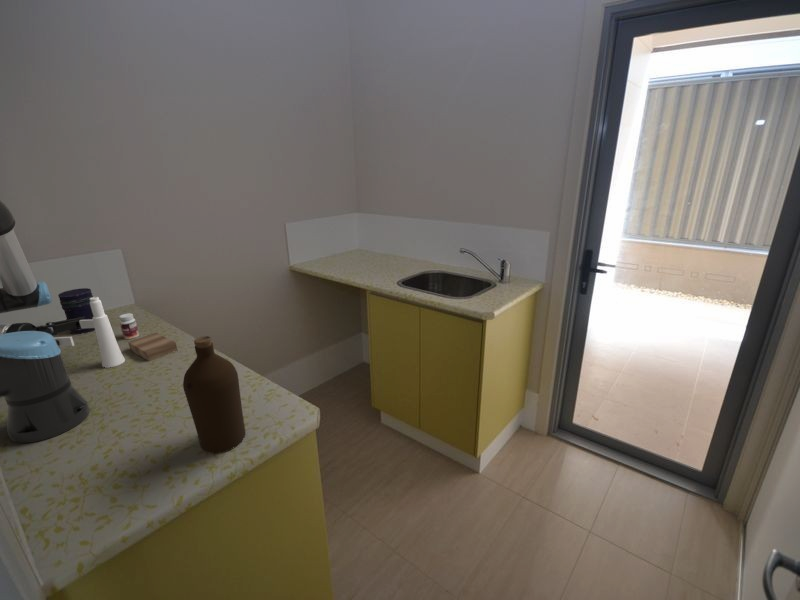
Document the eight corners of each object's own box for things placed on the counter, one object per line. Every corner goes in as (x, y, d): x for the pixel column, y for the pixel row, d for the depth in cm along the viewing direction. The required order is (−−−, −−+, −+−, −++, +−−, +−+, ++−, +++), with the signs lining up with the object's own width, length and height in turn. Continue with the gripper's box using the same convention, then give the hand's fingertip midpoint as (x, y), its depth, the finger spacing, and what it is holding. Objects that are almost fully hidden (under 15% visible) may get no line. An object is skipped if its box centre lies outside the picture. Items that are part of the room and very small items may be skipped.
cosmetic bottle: (101, 363, 125) (80, 297, 117) (123, 356, 129) (105, 293, 121) (103, 370, 121) (81, 302, 113) (126, 363, 124) (107, 298, 117)
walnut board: (177, 350, 132) (175, 342, 131) (148, 361, 125) (146, 352, 124) (158, 340, 140) (156, 332, 139) (130, 350, 133) (128, 342, 132)
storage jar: (101, 321, 158) (90, 286, 153) (103, 329, 151) (92, 292, 146) (69, 328, 152) (57, 292, 147) (70, 336, 145) (57, 298, 140)
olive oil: (241, 453, 85) (220, 349, 76) (189, 457, 84) (163, 352, 75) (253, 422, 94) (236, 327, 86) (207, 426, 94) (186, 330, 85)
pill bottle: (120, 338, 142) (114, 317, 139) (132, 333, 147) (126, 312, 144) (130, 340, 141) (124, 318, 138) (142, 334, 145) (136, 313, 142)
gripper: (50, 330, 133) (115, 326, 134) (-18, 366, 109) (62, 362, 111) (42, 309, 130) (109, 306, 132) (-29, 342, 107) (53, 337, 108)
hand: (88, 331), depth 121 cm, fingers open, 13 cm apart
